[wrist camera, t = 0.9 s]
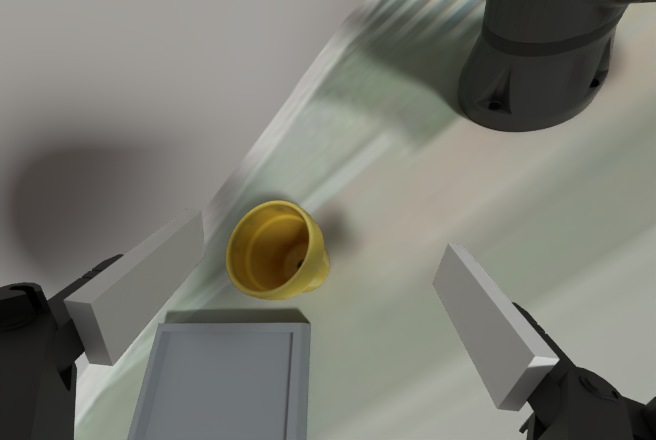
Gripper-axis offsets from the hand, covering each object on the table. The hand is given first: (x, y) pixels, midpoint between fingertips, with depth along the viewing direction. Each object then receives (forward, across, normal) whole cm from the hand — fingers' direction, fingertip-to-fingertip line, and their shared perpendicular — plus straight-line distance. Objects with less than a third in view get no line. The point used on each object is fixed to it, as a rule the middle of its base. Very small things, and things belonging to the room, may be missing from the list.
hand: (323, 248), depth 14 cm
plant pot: (+16, -1, -14) cm, 21 cm away
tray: (+4, -9, -28) cm, 30 cm away
